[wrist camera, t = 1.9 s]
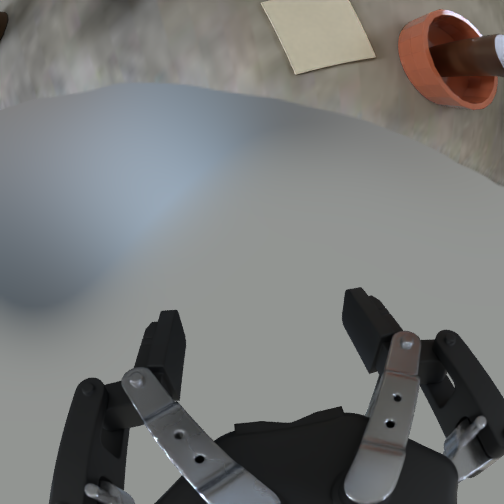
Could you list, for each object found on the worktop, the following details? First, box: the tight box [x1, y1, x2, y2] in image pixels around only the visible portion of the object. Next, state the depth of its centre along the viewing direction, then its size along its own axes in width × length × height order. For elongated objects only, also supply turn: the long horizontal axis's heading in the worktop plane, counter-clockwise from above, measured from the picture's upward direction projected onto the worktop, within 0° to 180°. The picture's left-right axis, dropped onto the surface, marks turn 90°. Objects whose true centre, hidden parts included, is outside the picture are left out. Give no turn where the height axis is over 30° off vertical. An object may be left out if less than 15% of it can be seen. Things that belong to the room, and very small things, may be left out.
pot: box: [398, 9, 498, 110], centre depth 20 cm, size 14×14×6 cm
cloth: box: [261, 0, 376, 75], centre depth 23 cm, size 11×11×1 cm
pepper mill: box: [429, 34, 504, 77], centre depth 17 cm, size 5×5×14 cm
